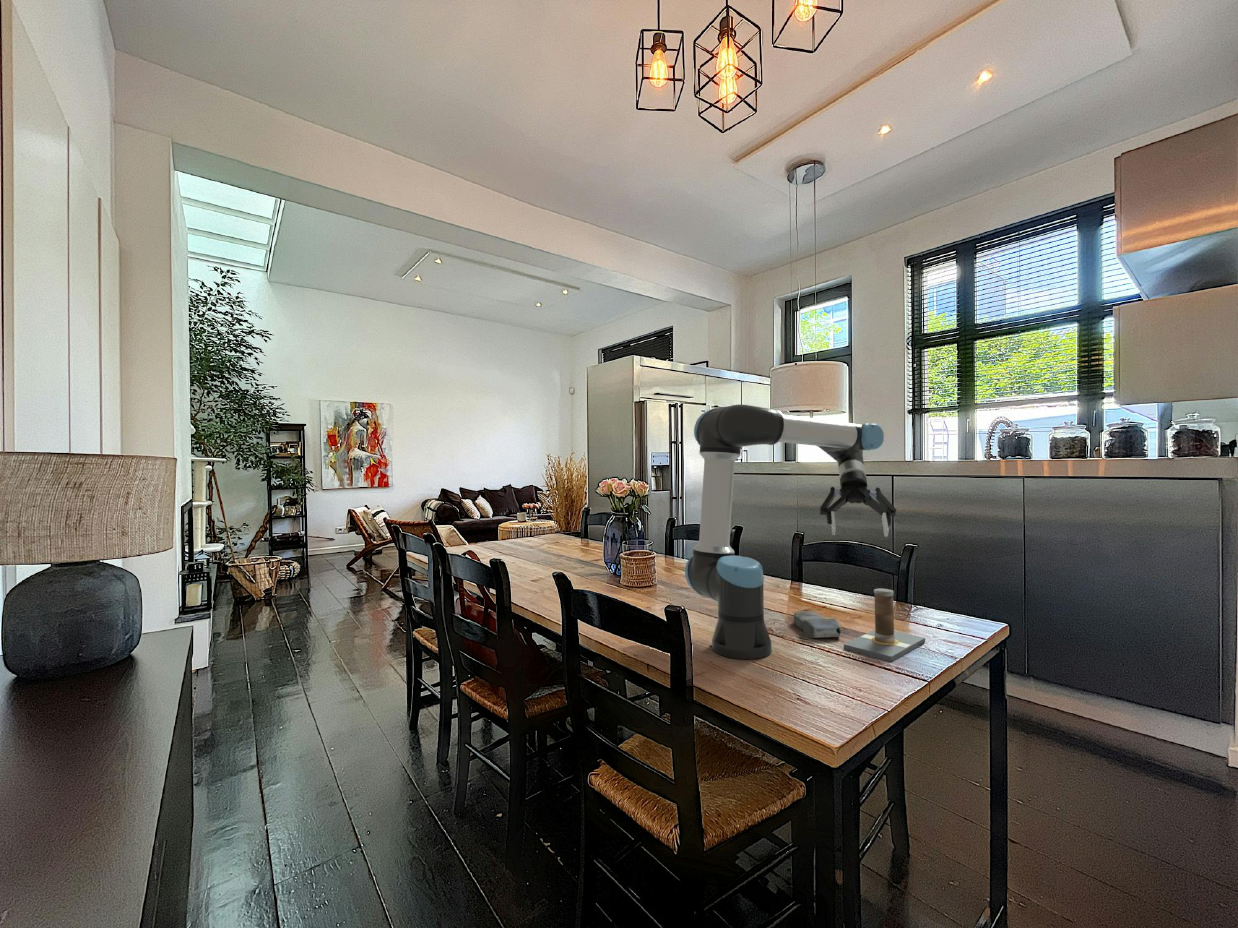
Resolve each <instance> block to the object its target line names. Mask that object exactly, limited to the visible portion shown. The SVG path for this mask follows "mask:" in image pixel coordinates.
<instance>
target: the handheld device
mask: <svg viewBox="0 0 1238 928" xmlns="http://www.w3.org/2000/svg"><path fill="white" fill-rule="evenodd" d="M793 623H794V625H795V626H796V627H798V628H799V629H801V630H803V635H804V636H805V637H807V638H810V639H820V638H821V639H823V638H839V637H840V636H841V634H842V633H841V632H842V629H841V625H840V622H839V621H838V620H837V619H836V618H826V617H824V616H823V615H820V614H818V613H816V612H813V611H812V610H811V611H810V610H798V611H795V612H794V613H793Z"/></svg>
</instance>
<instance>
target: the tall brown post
mask: <svg viewBox="0 0 1238 928" xmlns="http://www.w3.org/2000/svg"><path fill="white" fill-rule="evenodd" d="M873 594H874V595H873V596H874V630H875V640H876V641H878V642H881V643H894V642H895V633H894V631H895V623H894V622H895V618H894V617H895V616H894V615H895V614H894V612H895V611H894V596H895V595H894V590H893V589H888V588H875V589H873Z"/></svg>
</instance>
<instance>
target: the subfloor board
mask: <svg viewBox="0 0 1238 928" xmlns="http://www.w3.org/2000/svg"><path fill="white" fill-rule="evenodd" d="M894 633H895V642H894V643H881V642H878V641H876V640H875V629H873V630H872V631H870V632H868V633H865V634H863V635H861V636H859V637H856V638H854V639H852V640H850V641H848V642H846V643H843V650H847V651H851V652H854V653H857V654H862V655H865V656H868V657H869V656H870V657H874V658H877V659H881V660H885V661H888V662H893V661H895V660H896V659H898V658H901V657H902V656H905V655H906V654H908V653H909V652H912V651H913V650H915V649H916V648H919V645H920V646H922V645H924V644H925V643H926V638H925V637H923V636H917V635H913V634H908V633H903V632H900V631H896V630H894ZM924 642H925V643H924ZM923 643H924V644H923ZM921 644H922V645H921Z"/></svg>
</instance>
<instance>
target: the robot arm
mask: <svg viewBox="0 0 1238 928" xmlns="http://www.w3.org/2000/svg"><path fill="white" fill-rule="evenodd" d="M693 435H694V439H695V441H696V442H697V444H698V445H699V455H701V457H702V458H703V461H704V462H703V477H702V493H701V505H700V506H701V508H700V520H699V522H700V524H699V539H698V543H697V544H696V545H694V546H693V549H692V555H691V556H690V558H689V559H688V560H687V562H686V564H685V567H684V576H685V577H684V578H685V580H686V583H687V584H688V586H689V587H690V588H691V589H692V591H695V592H696V593H697V594H699V595H700V596H701V597H705V598H706V597H707V598H708V599H711V600H713V601H716V602H717V611H718V613H717V614H718V617H717V621H716V625H715V628H714V632H713V634H712V638H711V643H712V644H711V649H712V650H713V652H714V653H716V654H718V655H719V656H722V655H723V657H727V658H731V659H737V660H738V659H739V660H754V659H755V660H756V659H762V658H766V657H767V656H769V655H771V653H772V651H773V650H772V648H773V647H772V646H773V645H772V639H771V637H770V634H769V631H768V628H767V626H766V623H765V614H764V613H765V612H764V611H765V610H764V609H765V605H764V603H765V602H764V597H765V596H764V594H765V593H764V591H765V589H764V582H765V580H764V579H765V577H764V571H763V566H762V564H761V563H760V562H759V561H758V560H756V559H753V558H751V557H749V556H741V555H735V550H734V549H733V548H732V547H731V545H730V541H731V527H732V525H731V524H732V510H733V509H732V508H733V495H734V494H733V491H734V477H735V462H736V460H738V459H739V458H740V457H741V454H742V453H741V451H742V449H741V448H743V447H749V446H750V447H751V446H759V445H760V446H761V445H767V446H768V445H769V446H773V445H776V444H778V443H785V444H786V443H787V444H795V445H796V444H797V445H805V446H816V447H818V448H819V449H821V450H822V451H823V452H824V453H826V454H827V455H829V456H830V458H832V459H833V460H834V461H835V462H837V465H838V474H839V486H840V489H837V488H836V487H834V486H831V487H830V491H829V492H828V495H827V496H826V499H824V501H823V502H822V504H821V506H820V508H819V515H821V516H826V517H825V518H826V523H827V524H828V525H831V535H832V536H836V531H837V530H836V517H835V513H836V512H837V511H838V510H839V509H841V508H842V506H844V505H846V504H847V503H850V504H864V505H865V506H868V507H869V508H871V509H872V510H873V511H875V512H876V513H878V514H879V515H881V523H882V528H883V537H885V538H888V536H889V532H890V531H889V530H890V529H889V527H891V524H892V519H891V517H893V518H894V517H895V516H896V513H897V508H896V507H895V506H894V505H893V504H892V503H891V501H889V500H888V498H887V497H885V495H884V494H883V493H882V491H881V488H880V487H875V489H870V488H869V487H868V479H867V474H866V468H865V462H864V461H865V460H864V455H863V454H864V451H872V450H877V449H879V448H880V447H881V446H882V445H883V443H884V438H885V434H884V430H883V429H882V427H881V426H880V425H879V424H877V423H861V424H860V423H852V422H846V421H837V420H836V421H835V420H829V419H823V418H822V419H820V418H815V417H814V418H813V417H806V416H798V415H791V414H783V413H782V412H781V411H780V410H778V409H773V408H766V407H763V406H762V407H761V406H755V405H751V404H750V405H749V404H733V405H729V406H722V407H715V408H711V409H709V410H707V411H705V412H703V413H702V414H701V415H699V417H698V418H697V419H696V421H695V424H694V427H693ZM835 488H836V489H835ZM838 495H839V496H840V497H839V498H838V499H837V500H836V501H834V499H835V498H836V497H837V496H838ZM875 499H876V500H875ZM833 501H834V502H833Z"/></svg>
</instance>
